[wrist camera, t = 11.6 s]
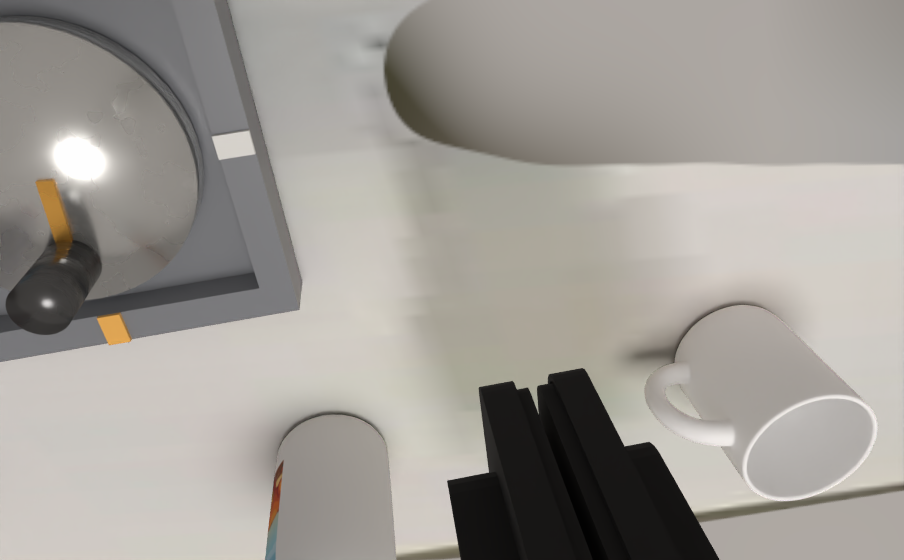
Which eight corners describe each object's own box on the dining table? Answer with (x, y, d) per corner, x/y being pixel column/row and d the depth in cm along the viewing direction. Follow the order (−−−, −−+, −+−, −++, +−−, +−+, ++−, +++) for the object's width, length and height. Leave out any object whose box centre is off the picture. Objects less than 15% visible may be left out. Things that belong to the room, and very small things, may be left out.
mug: (611, 402, 50) (670, 512, 41) (630, 305, 46) (699, 404, 37) (764, 391, 52) (852, 496, 43) (794, 297, 48) (899, 390, 39)
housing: (-251, -26, 30) (-315, -17, 27) (202, -89, 32) (188, -87, 29) (-36, 340, 40) (-66, 375, 37) (302, 282, 42) (299, 312, 39)
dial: (172, 10, 32) (136, 35, 26) (225, 272, 39) (205, 335, 33) (-154, 21, 30) (-266, 49, 25) (-39, 291, 37) (-106, 362, 32)
